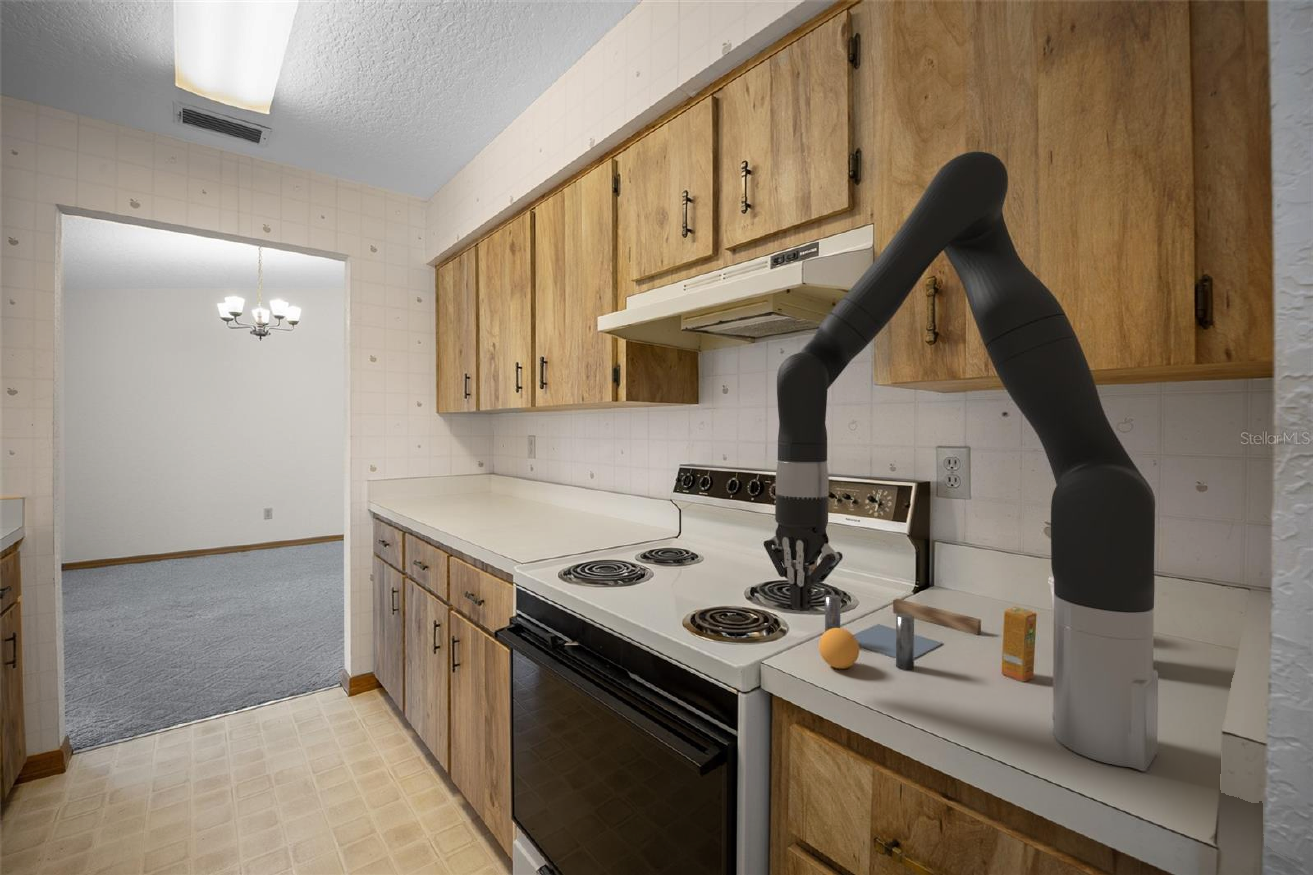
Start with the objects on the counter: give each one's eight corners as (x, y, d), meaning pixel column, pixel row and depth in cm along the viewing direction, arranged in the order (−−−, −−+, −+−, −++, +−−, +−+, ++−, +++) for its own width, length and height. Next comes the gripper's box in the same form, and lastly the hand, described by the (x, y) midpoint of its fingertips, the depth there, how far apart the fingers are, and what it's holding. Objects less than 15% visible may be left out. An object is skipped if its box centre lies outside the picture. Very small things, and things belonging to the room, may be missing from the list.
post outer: (843, 642, 98) (843, 597, 98) (834, 646, 97) (834, 600, 96) (830, 638, 100) (830, 593, 100) (821, 641, 99) (821, 596, 99)
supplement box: (1025, 683, 82) (1025, 615, 82) (1000, 674, 85) (1001, 609, 85) (1036, 678, 84) (1037, 611, 84) (1012, 669, 87) (1012, 605, 87)
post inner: (917, 667, 88) (917, 616, 88) (908, 672, 86) (909, 620, 86) (901, 662, 90) (901, 612, 90) (892, 666, 88) (892, 615, 88)
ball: (866, 668, 88) (866, 629, 88) (844, 678, 84) (844, 639, 84) (833, 655, 93) (833, 619, 92) (811, 665, 89) (811, 628, 89)
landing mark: (942, 644, 97) (942, 642, 97) (908, 662, 90) (908, 661, 90) (878, 625, 107) (878, 624, 107) (842, 640, 99) (842, 639, 99)
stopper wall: (980, 633, 102) (981, 619, 102) (977, 635, 101) (977, 621, 101) (896, 610, 115) (896, 598, 115) (893, 612, 114) (893, 600, 114)
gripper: (856, 494, 79) (855, 616, 80) (782, 485, 90) (781, 593, 90) (824, 499, 75) (823, 628, 75) (750, 489, 85) (749, 602, 85)
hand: (800, 609), depth 83 cm, fingers closed
